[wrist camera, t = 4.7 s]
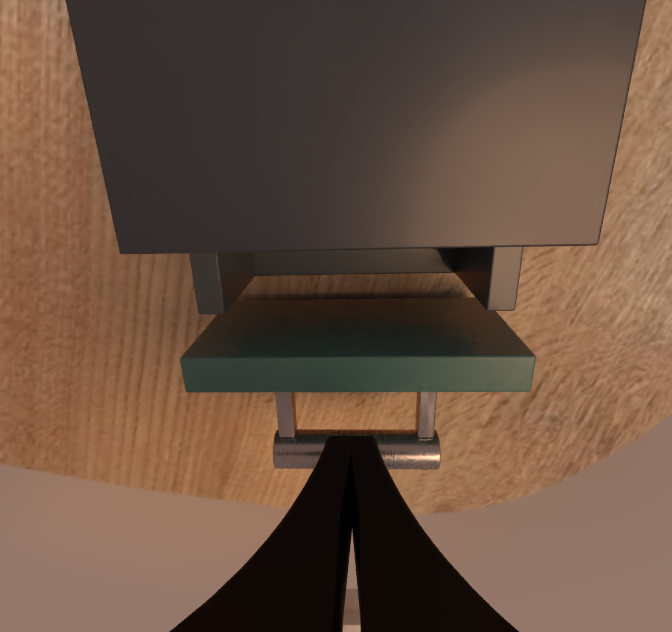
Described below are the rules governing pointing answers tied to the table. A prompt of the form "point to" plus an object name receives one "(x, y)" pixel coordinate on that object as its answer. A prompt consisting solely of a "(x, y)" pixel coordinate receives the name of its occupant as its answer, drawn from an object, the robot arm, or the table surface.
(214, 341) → the drawer
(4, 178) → the table surface
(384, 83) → the dark grey storage box
